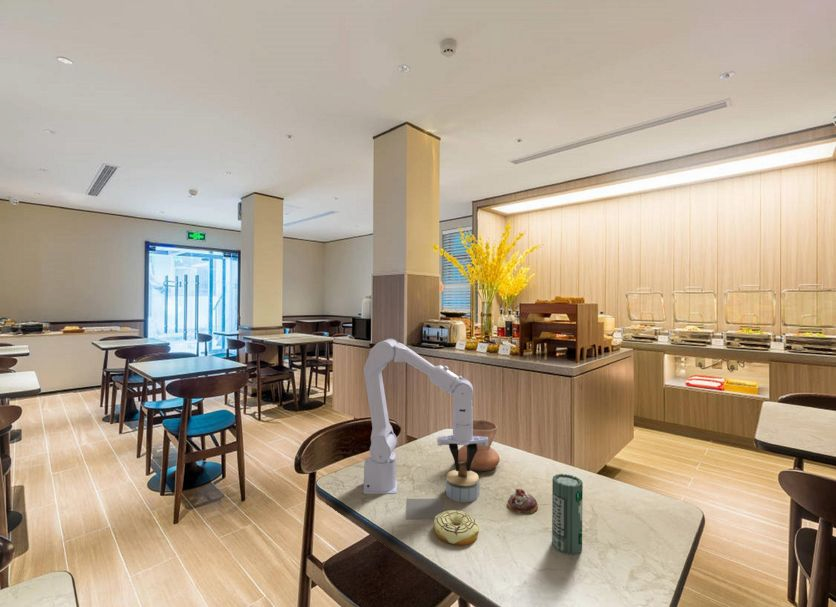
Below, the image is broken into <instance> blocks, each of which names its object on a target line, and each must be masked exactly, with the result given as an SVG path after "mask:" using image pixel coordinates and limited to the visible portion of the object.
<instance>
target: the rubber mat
mask: <svg viewBox="0 0 836 607" xmlns="http://www.w3.org/2000/svg"><path fill="white" fill-rule="evenodd" d="M443 512H445V507H444V501H443V498H406V508H405V520H434V519H435V517H436V516H437V515H438V514H440V513H443Z"/></svg>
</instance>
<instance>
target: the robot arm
mask: <svg viewBox="0 0 836 607" xmlns="http://www.w3.org/2000/svg"><path fill="white" fill-rule="evenodd" d="M368 354H369V355H368V357H367V359H366V361H365V364H364V367H363V374H364V380H365V381H364V382H365V387H366V394H367V400H368V406H369V414H370V420H371V426H372V427H371V428H372V430H371V433H370V442H371V443H370V447H369V455H370V457H366V458H365V459H364V464H363V465H364V466H363V494H365V495H366V494H368V495H370V494H371V495H372V494H373V495H376V494H378V495H379V494H380V495H381V494H387V495H388V494H389V495H390V494H392V495H393V494H396V495H397V492H398V491H397V490H398V480H397V475H396V474H397V473H396V472H397V455H396V454H395V449H396V447H397V446H398V438H397V435H396V434H395V433H394V429H393V426H392V425H391V423H390V419H389V412H388V405H387V400H386V399H387V398H386V394H385V393H386V392H385V385H384V380H383V379H384V378H383V373H382V371H384V369H385V368H386V367H387V366H388V364H389V363H391V361H393V363H406V364H408V365H409V366H412V367H414V368H415V369H417V370H419V371H420V372H422V373H424V374H425V375H427V376H428V378H429V381H430V383H431V384H433V385H434V386H436V387H437V388H439V389H440V390H442V391H444V392H445V393H447V394H448V395H449V394H450V395H451V396H452V399H453V406H452V434H451V435H445V436H443V435H442V436H437V441H436V442H437V443H436V444H437V446H438V447H442V446H449V450H450V453H451V455H452V458H453V461H454V465H455V469H454V470H456V471H459V466H458V463H459V462H458V453H459V446H464V445H467V471H471V470H470V467H471V463H472V460H473V458H474V456H475V454H476V452H477V445H485V446H488V438H487V437H481V436H473V419H474V406H473V398H474V386H473V384H472V382H470V381H469V380H468V379H467V378H463V376H462V375H457V374H455V373H454V372H453V371H451V370H450V369H449V366H447V365H444V366H443V365H441V364H438V365H434V364H432V363H431V362H429V361H428V360H427V359H425V358H424V357H422V356H421V355H419V354H418V353H417V352H415V351H414V350H413V349H411V348H410V347H408V346H406V345H405V344H404V343H401V342H398V341H397V340H396V339H394V338H386V339H385V340H382V341H379V342H377V343H376V344H375V345H373V347H372V348H371V349H370V350H369V353H368Z"/></svg>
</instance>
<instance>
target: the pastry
mask: <svg viewBox="0 0 836 607" xmlns="http://www.w3.org/2000/svg"><path fill="white" fill-rule="evenodd" d="M507 507H508V508H509V510H511V511H513V512H516V513H518V514H524V515H530V514H531V515H532V514H533V513H536V512H537V510H538V509H539V508H538V507H539V504H538V501H537V500H536V498H535V497H534V496H533V495H532V494H530V493H528V492H526V491H525V490H524V489H522V488H516V489H515V491H514V492H513V494H511V495H509V498H508V499H507Z"/></svg>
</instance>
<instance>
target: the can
mask: <svg viewBox="0 0 836 607" xmlns="http://www.w3.org/2000/svg"><path fill="white" fill-rule="evenodd" d="M551 481H552V491H551V492H552V493H551V494H552V500H551V502H552V506H551V507H552V508H551V509H552V510H551V514H552V515H551V516H552V517H551V518H552V519H551V523H552V524H551V528H552V529H551V537H552V538H551V543H552V546H553V547H554V548H555V549H556V550H557V551H559V552H561V553H564V554H567V555H572V556H573V555H578V554H580V553H581V552H582V551H583V486H584V485H583V480H582V479H581V478H579V477H577V476H574V475H572V474H571V475H570V474H567V473H565V474H564V473H559V474H555V475H553V476H552V480H551Z"/></svg>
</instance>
